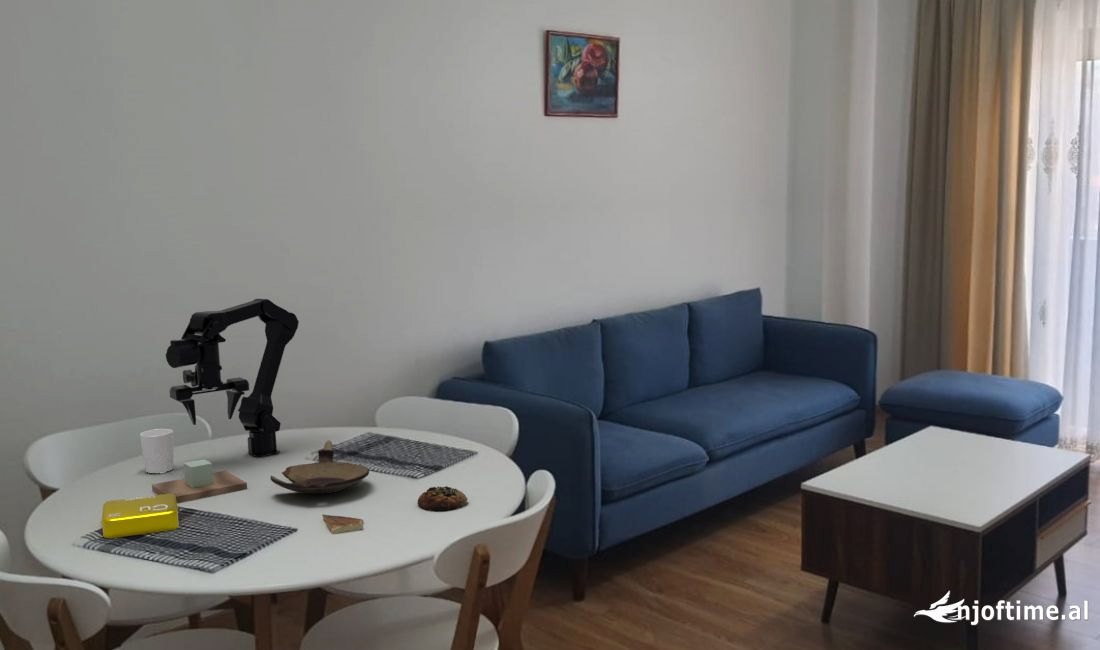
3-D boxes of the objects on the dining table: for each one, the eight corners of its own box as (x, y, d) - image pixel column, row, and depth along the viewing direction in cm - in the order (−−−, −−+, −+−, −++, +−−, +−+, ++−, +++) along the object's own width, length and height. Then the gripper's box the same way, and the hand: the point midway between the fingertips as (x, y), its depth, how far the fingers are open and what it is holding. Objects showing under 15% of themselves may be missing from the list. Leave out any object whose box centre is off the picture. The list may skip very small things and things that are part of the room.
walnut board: (225, 476, 264) (225, 470, 264) (247, 488, 253) (246, 482, 253) (152, 490, 253) (151, 484, 253) (171, 504, 242) (170, 497, 242)
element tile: (176, 510, 239) (175, 490, 238) (179, 530, 225) (177, 509, 224) (104, 520, 233) (102, 499, 233) (103, 541, 220) (101, 519, 219)
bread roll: (420, 514, 231) (420, 491, 231) (414, 506, 242) (414, 484, 242) (471, 510, 234) (470, 488, 234) (462, 503, 244) (462, 481, 244)
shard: (322, 521, 229) (322, 513, 229) (357, 516, 232) (357, 508, 232) (330, 536, 219) (330, 528, 219) (367, 531, 222) (367, 523, 222)
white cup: (169, 474, 267) (166, 435, 265) (138, 475, 267) (134, 436, 266) (180, 466, 275) (177, 428, 273) (150, 466, 275) (147, 429, 273)
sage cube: (205, 479, 256) (204, 459, 256) (213, 483, 252) (212, 463, 252) (185, 483, 253) (183, 463, 253) (192, 487, 249) (191, 467, 249)
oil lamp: (252, 504, 241) (250, 471, 240) (314, 468, 270) (312, 439, 269) (342, 510, 235) (340, 476, 234) (395, 472, 264) (394, 443, 263)
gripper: (232, 353, 280) (236, 411, 283) (160, 362, 269) (165, 422, 271) (248, 358, 272) (252, 418, 274) (174, 368, 260) (179, 429, 263)
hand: (212, 421), depth 271 cm, fingers open, 9 cm apart
